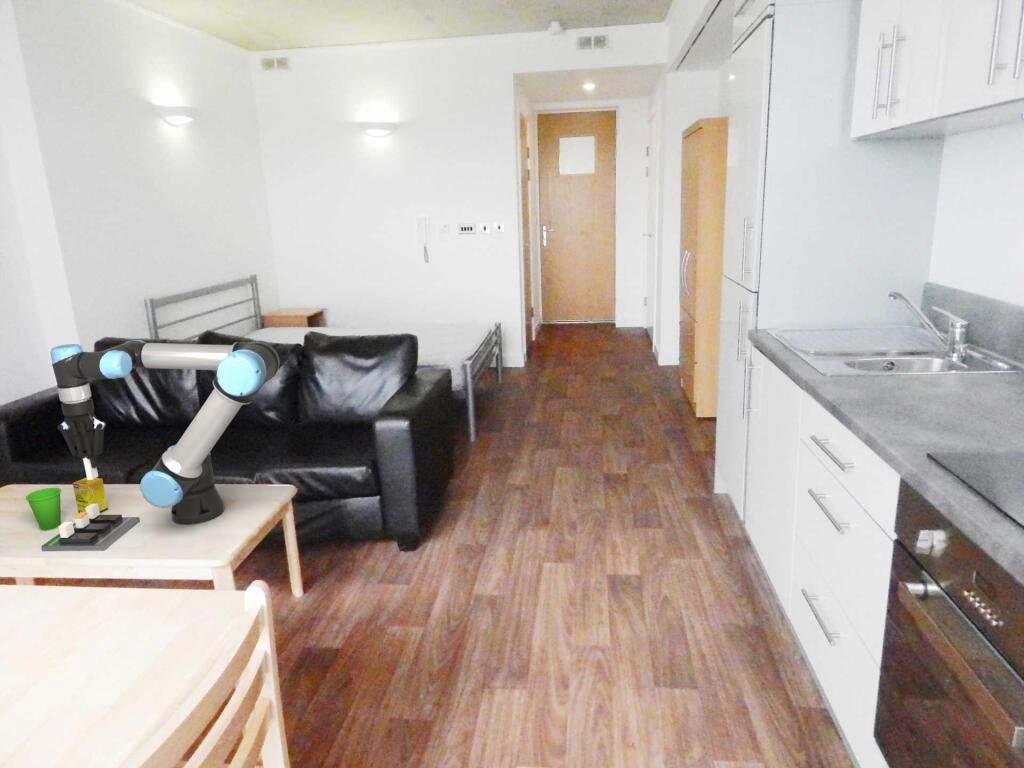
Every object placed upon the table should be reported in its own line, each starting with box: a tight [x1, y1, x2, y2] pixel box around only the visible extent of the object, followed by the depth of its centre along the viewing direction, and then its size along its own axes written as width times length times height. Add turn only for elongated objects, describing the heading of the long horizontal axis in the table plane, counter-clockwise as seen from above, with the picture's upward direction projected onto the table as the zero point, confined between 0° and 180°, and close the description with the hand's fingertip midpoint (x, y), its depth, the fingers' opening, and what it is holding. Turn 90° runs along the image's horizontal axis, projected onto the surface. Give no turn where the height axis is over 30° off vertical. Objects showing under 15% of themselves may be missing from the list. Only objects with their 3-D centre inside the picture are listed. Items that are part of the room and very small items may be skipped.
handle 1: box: [58, 521, 74, 538], centre depth 193 cm, size 2×3×4 cm, turn 179°
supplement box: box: [72, 476, 109, 514], centre depth 214 cm, size 6×6×11 cm
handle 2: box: [85, 504, 101, 519], centre depth 204 cm, size 2×3×4 cm, turn 179°
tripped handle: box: [74, 512, 89, 528], centre depth 199 cm, size 2×3×4 cm, turn 179°
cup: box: [25, 487, 62, 532], centre depth 205 cm, size 9×9×11 cm
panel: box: [40, 514, 140, 552], centre depth 199 cm, size 18×18×3 cm
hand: (92, 477), depth 195 cm, fingers closed
